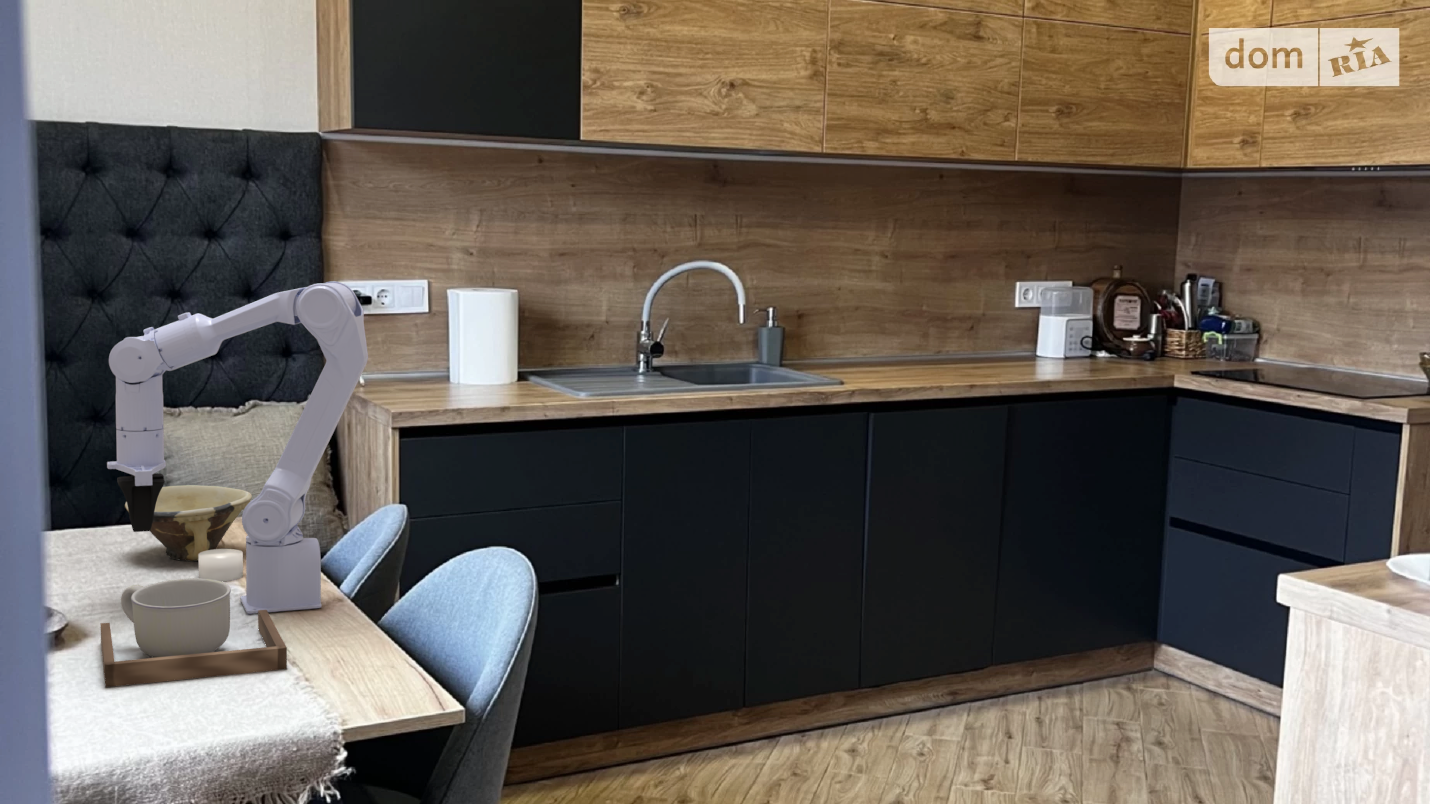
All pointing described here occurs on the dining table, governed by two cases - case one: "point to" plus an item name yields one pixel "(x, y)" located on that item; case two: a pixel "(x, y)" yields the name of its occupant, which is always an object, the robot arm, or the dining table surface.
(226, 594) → the teacup
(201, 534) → the bowl
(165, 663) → the corral
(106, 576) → the dining table surface
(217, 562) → the white frosted puck
